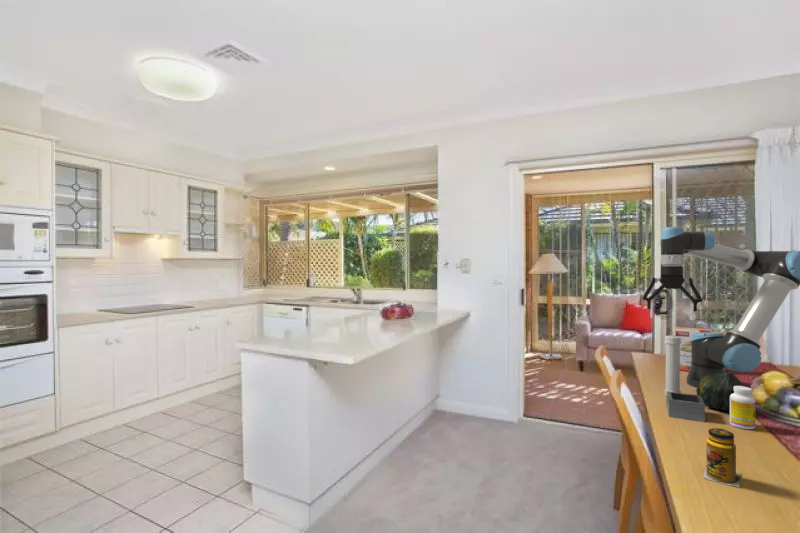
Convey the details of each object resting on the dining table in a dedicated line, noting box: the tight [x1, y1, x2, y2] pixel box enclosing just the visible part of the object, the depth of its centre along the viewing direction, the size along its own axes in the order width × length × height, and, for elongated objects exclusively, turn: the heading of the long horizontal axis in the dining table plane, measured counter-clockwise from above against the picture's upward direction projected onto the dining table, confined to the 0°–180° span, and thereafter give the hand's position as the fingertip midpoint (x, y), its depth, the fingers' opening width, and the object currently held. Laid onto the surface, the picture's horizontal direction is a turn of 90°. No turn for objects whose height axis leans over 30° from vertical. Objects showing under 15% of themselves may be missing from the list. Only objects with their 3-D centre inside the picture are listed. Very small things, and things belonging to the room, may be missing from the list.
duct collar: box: [666, 391, 706, 422], centre depth 151 cm, size 10×10×6 cm
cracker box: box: [674, 326, 711, 372], centre depth 206 cm, size 14×6×21 cm, turn 58°
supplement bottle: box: [729, 385, 756, 431], centre depth 140 cm, size 7×7×13 cm
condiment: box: [702, 427, 741, 488], centre depth 109 cm, size 7×8×12 cm
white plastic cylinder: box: [663, 322, 682, 397], centre depth 169 cm, size 6×6×30 cm
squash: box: [695, 371, 746, 413], centre depth 156 cm, size 14×15×15 cm
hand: (671, 318), depth 169 cm, fingers open, 13 cm apart
